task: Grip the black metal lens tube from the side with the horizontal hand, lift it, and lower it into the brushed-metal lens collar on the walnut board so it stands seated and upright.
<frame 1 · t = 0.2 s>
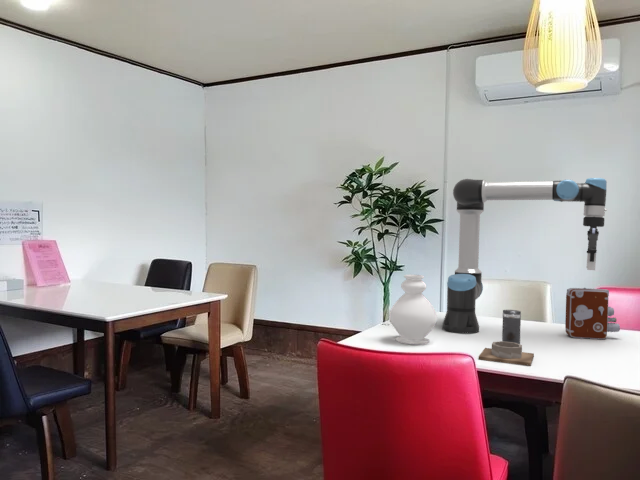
hand: (590, 269, 206), 28 cm above the table, tool pointing down, fingers open, 13 cm apart
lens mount: (506, 357, 171), on the table
cine camera: (592, 338, 206), on the table
lens tube: (510, 349, 182), on the table
decorative vase: (412, 341, 194), on the table
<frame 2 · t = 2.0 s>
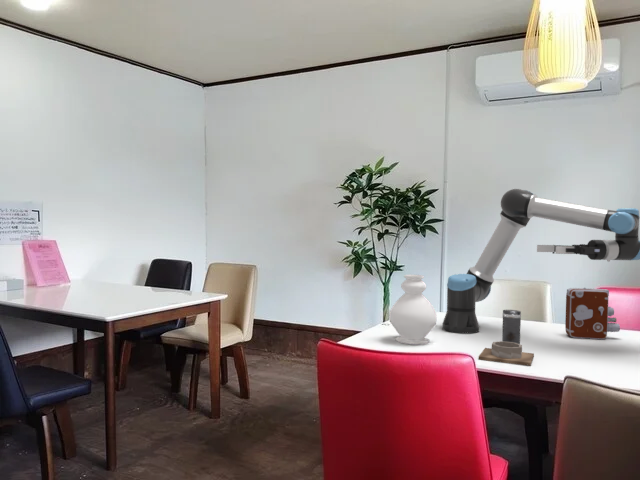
hand: (546, 249, 189), 36 cm above the table, tool horizontal, fingers open, 13 cm apart
nothing on the table moved.
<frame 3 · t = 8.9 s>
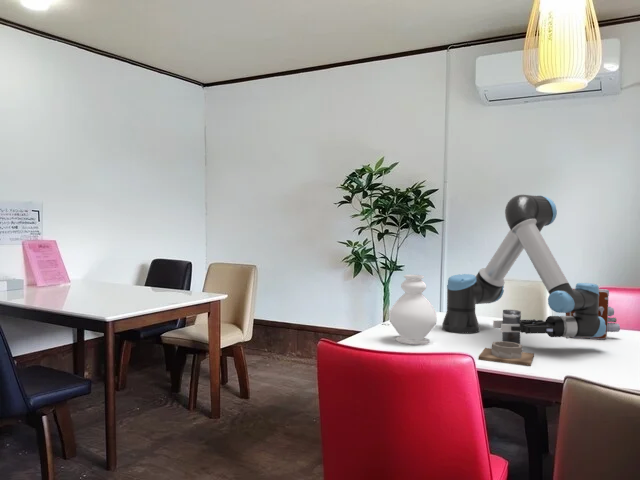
hand: (497, 326, 182), 9 cm above the table, tool horizontal, fingers closed on lens tube, 6 cm apart
lens tube: (510, 349, 182), on the table, touching gripper
everything else where it was.
when the fingers open (10 cm above the table, at t = 14.5 s): lens tube stays where it is, resting on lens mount.
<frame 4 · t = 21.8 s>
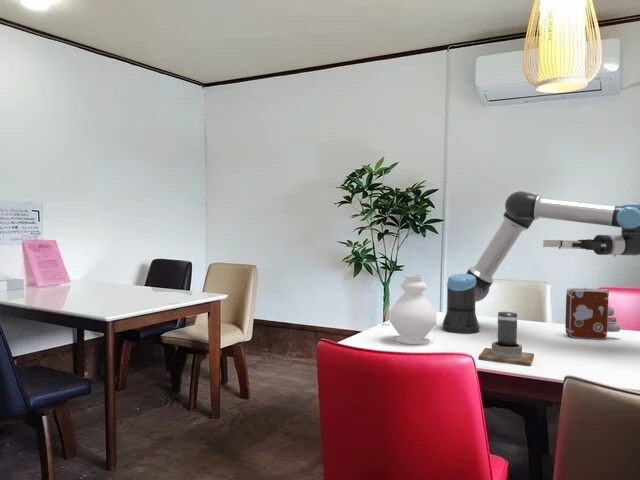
hand: (552, 244, 190), 38 cm above the table, tool horizontal, fingers open, 13 cm apart
lens tube: (506, 354, 171), point 1 cm above the table, touching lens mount
everything else where it was.
at the end: lens tube 0.0 cm off-centre on the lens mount, point 1.0 cm above the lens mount's base; lens tube tilted 1°; the gripper is holding nothing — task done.
